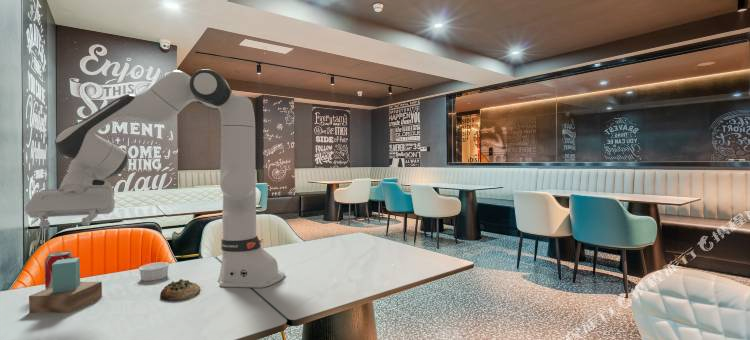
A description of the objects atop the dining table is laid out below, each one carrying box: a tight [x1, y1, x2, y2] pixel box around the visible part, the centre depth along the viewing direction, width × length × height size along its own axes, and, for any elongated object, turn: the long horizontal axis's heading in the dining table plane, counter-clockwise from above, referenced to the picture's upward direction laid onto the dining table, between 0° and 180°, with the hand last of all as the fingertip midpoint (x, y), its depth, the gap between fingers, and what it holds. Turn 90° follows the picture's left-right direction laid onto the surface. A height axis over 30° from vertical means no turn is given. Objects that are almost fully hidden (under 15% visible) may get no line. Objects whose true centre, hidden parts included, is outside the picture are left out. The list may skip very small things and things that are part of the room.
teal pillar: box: [52, 257, 81, 293], centre depth 98 cm, size 5×5×8 cm
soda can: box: [43, 250, 75, 290], centre depth 110 cm, size 7×7×12 cm
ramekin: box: [139, 261, 170, 282], centre depth 122 cm, size 9×9×4 cm
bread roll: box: [159, 278, 201, 301], centre depth 106 cm, size 11×11×5 cm
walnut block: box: [28, 281, 103, 314], centre depth 99 cm, size 11×11×5 cm
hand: (64, 225), depth 98 cm, fingers open, 8 cm apart
